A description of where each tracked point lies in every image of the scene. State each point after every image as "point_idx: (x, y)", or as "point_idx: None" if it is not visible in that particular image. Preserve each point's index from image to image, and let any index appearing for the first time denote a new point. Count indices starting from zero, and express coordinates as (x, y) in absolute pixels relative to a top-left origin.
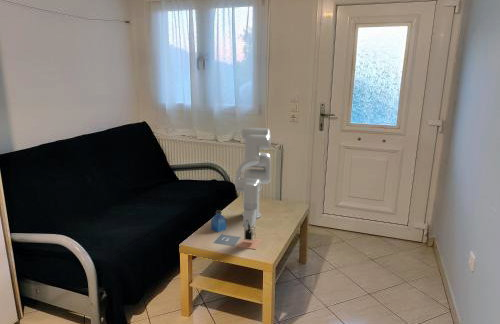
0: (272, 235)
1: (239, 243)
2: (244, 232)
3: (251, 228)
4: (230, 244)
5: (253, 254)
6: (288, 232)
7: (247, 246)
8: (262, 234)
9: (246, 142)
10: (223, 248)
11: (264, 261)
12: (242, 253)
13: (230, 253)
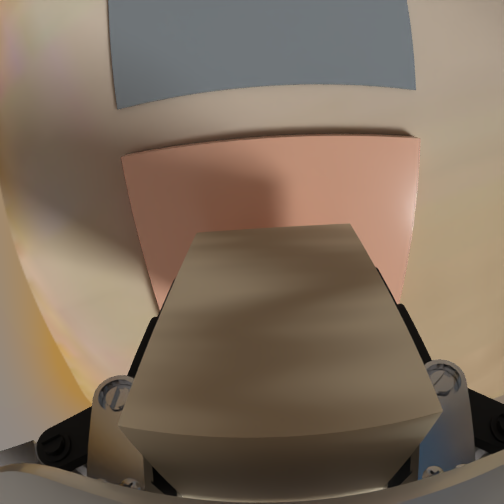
0: (477, 352)
1: (197, 145)
2: (159, 327)
3: (199, 498)
4: (139, 46)
5: (101, 336)
6: (497, 393)
7: (172, 266)
8: (499, 288)
9: None
10: (43, 43)
11: (85, 393)
12: (57, 258)
13: (6, 164)
